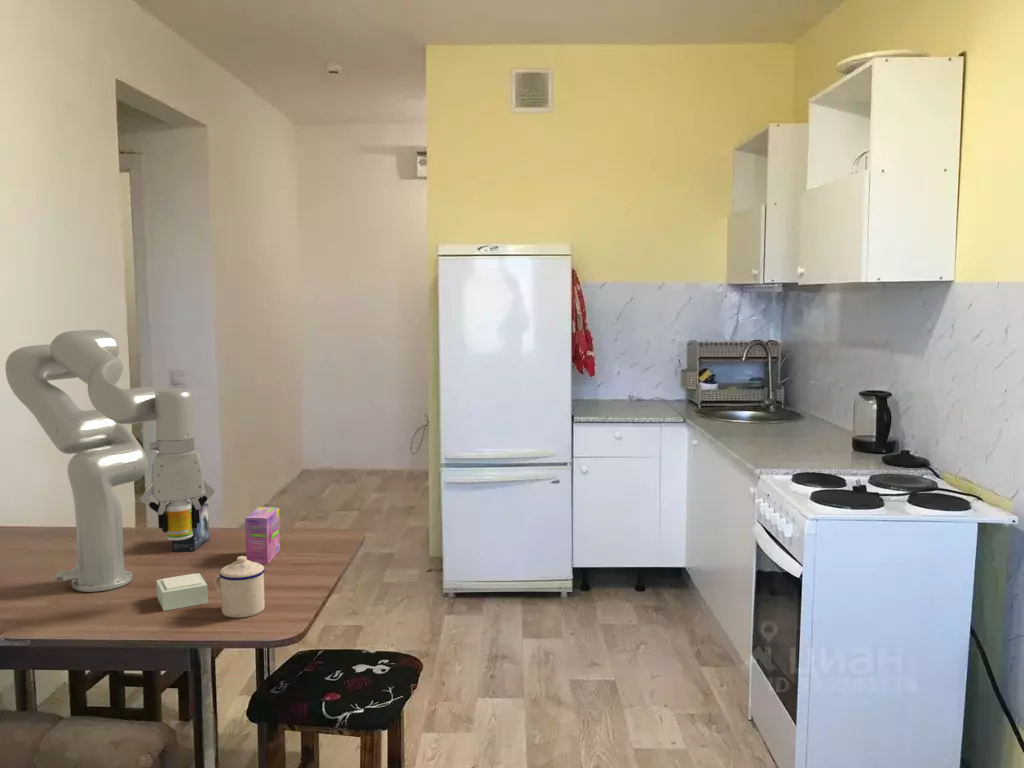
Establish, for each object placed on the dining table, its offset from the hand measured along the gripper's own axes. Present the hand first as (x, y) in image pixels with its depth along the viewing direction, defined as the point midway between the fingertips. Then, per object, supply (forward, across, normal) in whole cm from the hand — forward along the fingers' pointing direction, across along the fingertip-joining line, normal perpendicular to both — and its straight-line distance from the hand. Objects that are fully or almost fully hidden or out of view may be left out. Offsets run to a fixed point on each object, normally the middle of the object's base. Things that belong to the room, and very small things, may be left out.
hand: (179, 528), depth 180 cm
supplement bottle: (+2, 0, 0) cm, 2 cm away
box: (+16, +23, +21) cm, 35 cm away
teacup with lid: (+16, +9, -12) cm, 22 cm away
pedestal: (+16, 0, 0) cm, 16 cm away
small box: (+16, +9, +41) cm, 45 cm away
